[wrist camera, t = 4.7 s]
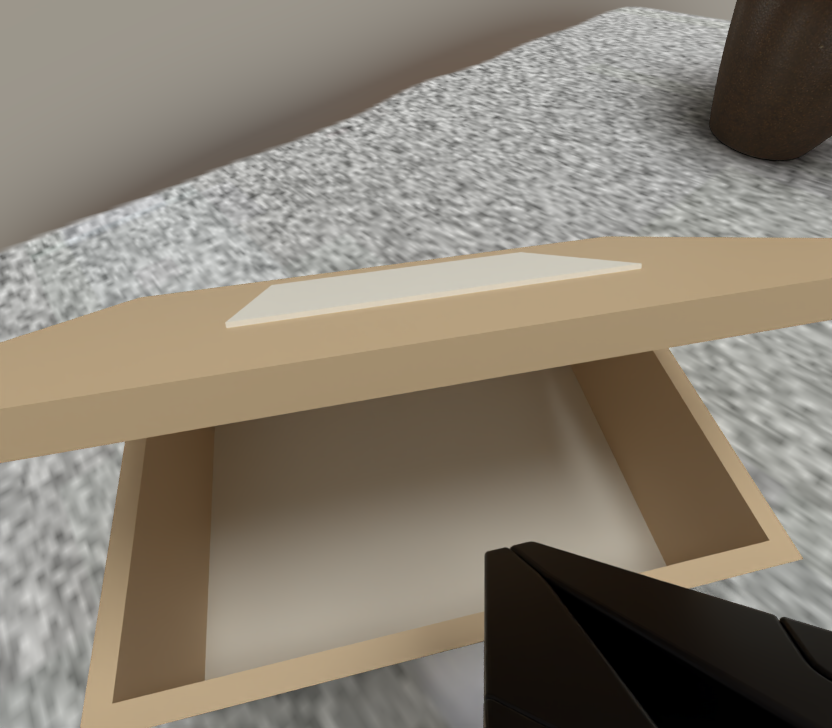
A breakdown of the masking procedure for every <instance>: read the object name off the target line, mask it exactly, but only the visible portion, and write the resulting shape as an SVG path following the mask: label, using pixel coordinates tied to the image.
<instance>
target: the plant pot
mask: <svg viewBox="0 0 832 728" xmlns="http://www.w3.org/2000/svg"><path fill="white" fill-rule="evenodd" d="M709 124H710V129H711V131H712V133H713V134H714V135H715V136H716V137H717V138H718V139H719V140H720V141H721V142H723V143H724V144H726V145H727V146H729V147H730V148H732V149H734V150H737V151H739V152H741V153H744V154H746V155H750V156H753V157H757V158H762V159H769V160H789V159H794V158H798V157H800V156H802V155H804V154H806V153H807V152H809V151H810V150H812V149H813V148H815V147H816V146H818V145H819V144H820V143H822V142H823V141H825V140H826V139H828V138H829V137H830V136H832V0H737V2H736V6H735V9H734V13H733V17H732V20H731V24H730V27H729V31H728V35H727V39H726V43H725V47H724V51H723V55H722V59H721V64H720V68H719V73H718V78H717V83H716V87H715V93H714V98H713V104H712V109H711V115H710V122H709Z"/></svg>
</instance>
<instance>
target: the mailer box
mask: <svg viewBox="0 0 832 728" xmlns="http://www.w3.org/2000/svg"><path fill="white" fill-rule="evenodd" d="M529 541H534V542H537V543H541V544H544V545H547V546H550V547H554V548H557V549H560V550H564V551H567V552H570V553H573V554H577V555H580V556H583V557H586V558H590V559H593V560H596V561H599V562H603V563H606V564H609V565H612V566H616V567H619V568H622V569H626V570H629V571H632V572H635V573H639V574H642V575H645V576H648V577H652V578H655V579H658V580H661V581H665V582H668V583H671V584H675V585H678V586H681V587H684V588H688V589H689V588H692V587H696V586H700V585H704V584H708V583H712V582H716V581H720V580H723V579H727V578H731V577H735V576H739V575H743V574H747V573H751V572H754V571H758V570H762V569H766V568H770V567H774V566H778V565H782V564H785V563H789V562H793V561H797V560H801V559H803V558H802V556H801V555H800V553H799V551H798V550H797V548H796V547H795V545H794V544H793V542H792V540H791V539H790V537H789V536H788V534H787V533H786V531H785V530H784V528H783V526H782V525H781V523H780V522H779V520H778V519H777V517H776V515H775V514H774V512H773V511H772V509H771V508H770V506H769V505H768V503H767V501H766V500H765V498H764V497H763V495H762V494H761V492H760V490H759V489H758V487H757V486H756V484H755V483H754V481H753V480H752V478H751V476H750V475H749V473H748V472H747V470H746V469H745V467H744V465H743V464H742V462H741V461H740V459H739V458H738V456H737V455H736V453H735V451H734V450H733V448H732V447H731V445H730V444H729V442H728V440H727V439H726V437H725V436H724V434H723V433H722V431H721V430H720V428H719V426H718V425H717V423H716V422H715V420H714V419H713V417H712V415H711V414H710V412H709V411H708V409H707V408H706V406H705V405H704V403H703V401H702V400H701V398H700V397H699V395H698V394H697V392H696V390H695V389H694V387H693V386H692V384H691V383H690V381H689V380H688V378H687V376H686V375H685V373H684V372H683V370H682V369H681V367H680V365H679V364H678V362H677V361H676V359H675V358H674V356H673V355H672V353H671V351H670V350H669V348H664V349H658V350H653V351H647V352H641V353H635V354H629V355H624V356H618V357H612V358H606V359H600V360H595V361H589V362H583V363H577V364H571V365H566V366H560V367H554V368H548V369H542V370H537V371H531V372H525V373H519V374H513V375H508V376H502V377H496V378H490V379H484V380H479V381H473V382H467V383H461V384H455V385H450V386H444V387H438V388H432V389H426V390H421V391H415V392H409V393H403V394H397V395H392V396H386V397H380V398H374V399H368V400H363V401H357V402H351V403H345V404H339V405H334V406H328V407H322V408H316V409H310V410H305V411H299V412H293V413H287V414H281V415H276V416H270V417H264V418H258V419H252V420H247V421H241V422H235V423H229V424H223V425H218V426H212V427H206V428H200V429H194V430H189V431H183V432H177V433H171V434H165V435H160V436H154V437H148V438H142V439H136V440H131V441H125V446H124V452H123V459H122V465H121V471H120V478H119V484H118V490H117V497H116V503H115V509H114V516H113V522H112V529H111V535H110V541H109V548H108V554H107V560H106V567H105V573H104V579H103V586H102V592H101V599H100V605H99V611H98V618H97V624H96V630H95V637H94V643H93V649H92V656H91V662H90V669H89V675H88V681H87V688H86V694H85V700H84V707H83V713H82V719H81V726H80V728H149V727H153V726H157V725H161V724H165V723H169V722H173V721H177V720H180V719H184V718H188V717H192V716H196V715H200V714H204V713H208V712H212V711H215V710H219V709H223V708H227V707H231V706H235V705H239V704H243V703H246V702H250V701H254V700H258V699H262V698H266V697H270V696H274V695H277V694H281V693H285V692H289V691H293V690H297V689H301V688H305V687H308V686H312V685H316V684H320V683H324V682H328V681H332V680H336V679H339V678H343V677H347V676H351V675H355V674H359V673H363V672H367V671H371V670H374V669H378V668H382V667H386V666H390V665H394V664H398V663H402V662H405V661H409V660H413V659H417V658H421V657H425V656H429V655H433V654H436V653H440V652H444V651H448V650H452V649H456V648H460V647H464V646H467V645H471V644H475V643H479V642H483V641H484V555H485V553H486V552H487V551H490V550H495V549H499V548H503V547H507V548H509V549H510V547H511V546H513V545H516V544H521V543H525V542H529Z"/></svg>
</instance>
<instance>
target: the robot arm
mask: <svg viewBox="0 0 832 728" xmlns="http://www.w3.org/2000/svg"><path fill="white" fill-rule="evenodd" d="M483 728H832V631H829V630H826V629H822V628H819V627H816V626H813V625H809V624H806V623H803V622H800V621H796V620H793V619H790V618H787V617H782V618H780V620H778V618H777V617H776V616H775V615H773V614H769V613H766V612H763V611H760V610H756V609H753V608H750V607H747V606H743V605H740V604H737V603H733V602H730V601H727V600H724V599H720V598H717V597H714V596H711V595H707V594H704V593H701V592H697V591H694V590H691V589H688V588H684V587H681V586H678V585H675V584H671V583H668V582H665V581H661V580H658V579H655V578H652V577H648V576H645V575H642V574H639V573H635V572H632V571H629V570H626V569H622V568H619V567H616V566H612V565H609V564H606V563H603V562H599V561H596V560H593V559H590V558H586V557H583V556H580V555H577V554H573V553H570V552H567V551H564V550H560V549H557V548H554V547H550V546H547V545H544V544H541V543H537V542H534V541H529V542H525V543H521V544H516V545H513V546H511V547H510V549H509V548H507V547H503V548H499V549H495V550H490V551H487V552H486V553H485V555H484V708H483Z"/></svg>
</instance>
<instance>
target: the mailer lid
mask: <svg viewBox="0 0 832 728" xmlns="http://www.w3.org/2000/svg"><path fill="white" fill-rule="evenodd" d="M827 320H832V238H736V237H599V238H591V239H584V240H576V241H568V242H561V243H553V244H546V245H538V246H530V247H523V248H515V249H507V250H500V251H492V252H484V253H477V254H469V255H462V256H454V257H446V258H439V259H431V260H423V261H416V262H408V263H400V264H393V265H385V266H377V267H370V268H362V269H355V270H347V271H339V272H332V273H324V274H316V275H309V276H301V277H293V278H286V279H278V280H271V281H263V282H255V283H248V284H240V285H232V286H225V287H217V288H209V289H202V290H194V291H187V292H179V293H171V294H164V295H156V296H148V297H141V298H137V299H134V300H131V301H127V302H124V303H121V304H118V305H115V306H112V307H109V308H106V309H103V310H100V311H97V312H93V313H90V314H87V315H84V316H81V317H78V318H75V319H72V320H69V321H66V322H63V323H59V324H56V325H53V326H50V327H47V328H44V329H41V330H38V331H35V332H32V333H29V334H26V335H22V336H19V337H16V338H13V339H10V340H7V341H4V342H1V343H0V463H3V462H9V461H15V460H20V459H26V458H32V457H38V456H44V455H49V454H55V453H61V452H67V451H73V450H78V449H84V448H90V447H96V446H102V445H107V444H113V443H119V442H125V441H131V440H136V439H142V438H148V437H154V436H160V435H165V434H171V433H177V432H183V431H189V430H194V429H200V428H206V427H212V426H218V425H223V424H229V423H235V422H241V421H247V420H252V419H258V418H264V417H270V416H276V415H281V414H287V413H293V412H299V411H305V410H310V409H316V408H322V407H328V406H334V405H339V404H345V403H351V402H357V401H363V400H368V399H374V398H380V397H386V396H392V395H397V394H403V393H409V392H415V391H421V390H426V389H432V388H438V387H444V386H450V385H455V384H461V383H467V382H473V381H479V380H484V379H490V378H496V377H502V376H508V375H513V374H519V373H525V372H531V371H537V370H542V369H548V368H554V367H560V366H566V365H571V364H577V363H583V362H589V361H595V360H600V359H606V358H612V357H618V356H624V355H629V354H635V353H641V352H647V351H653V350H658V349H664V348H670V347H676V346H682V345H687V344H693V343H699V342H705V341H711V340H716V339H722V338H728V337H734V336H740V335H745V334H751V333H757V332H763V331H769V330H775V329H780V328H786V327H792V326H798V325H804V324H809V323H815V322H821V321H827Z"/></svg>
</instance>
